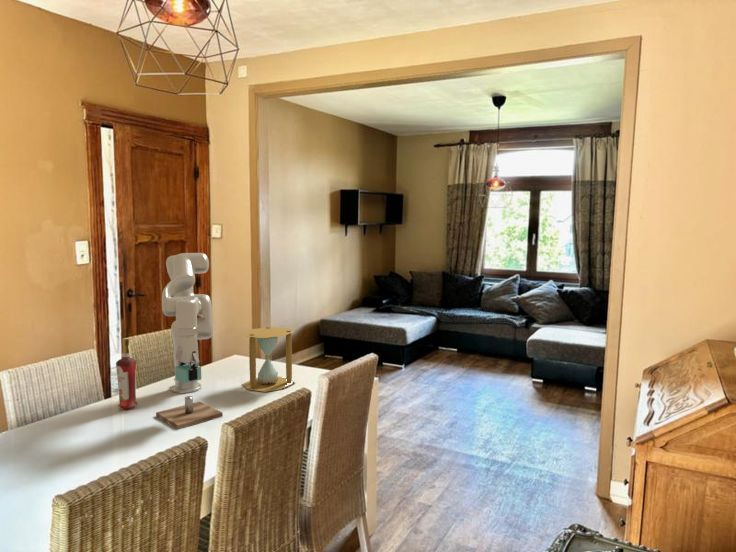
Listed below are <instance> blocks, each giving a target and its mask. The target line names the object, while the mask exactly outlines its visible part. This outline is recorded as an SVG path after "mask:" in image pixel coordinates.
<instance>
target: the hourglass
mask: <svg viewBox="0 0 736 552" xmlns="http://www.w3.org/2000/svg"><path fill="white" fill-rule="evenodd" d="M293 333H295V331H294V330H292V329H289V328H286V327H273V326H266V327H259V328H252V329H249V330H245V331H242V332H241V334H242V335H244V336H245V337H247V338H249V340H248V341H249V344H248V345H249V346H248V350H249V351H248V353H249V355H248V356H249V357H248V358H249V359H248V360H249V364H248V365H249V380H248V381H245V382H243V383H242V384H241V385H242V386H244V388H246V389H247V390H249V391H258V392H265V393H267V392H271V391H278V390H283V389H282V388H284V387H285V385H287V383H291V381H293V380H292V379H293V350H292V349H293V348H292V343H293V342H292V340H293V339H292V337H293V336H292V334H293ZM284 336H285V374H286V376H285V377H286V378H282V377H283V376H279V375H278V371H277V369H276V368H275V367H274V365H273V363H272V352H273V351H274V348H275V347H276V346H277V343H278V339H279V338H278V337H284ZM256 341H257V344H258V345H259V348H260V349H261V351H262V353H263V354H264V355H265V357H264V358H265V361H264V362H263V365H261V368H260V369H259V371H258V373H257V360H256V359H257V358H256V352H257V351H256ZM286 379H287V381H286ZM284 389H285V388H284Z"/></svg>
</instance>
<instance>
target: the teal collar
mask: <svg viewBox="0 0 736 552" xmlns="http://www.w3.org/2000/svg"><path fill="white" fill-rule="evenodd" d="M191 365H193V364H191ZM189 370H190V369H189V365H188V364H186V365H181V366H176V367H175V366H174V379H175V380H178V381H180V382H182V383H188V382H192V381H197V380H198V381H201V380H202V366H200V365H198V369H197V379H196V380H192V381H189Z"/></svg>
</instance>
